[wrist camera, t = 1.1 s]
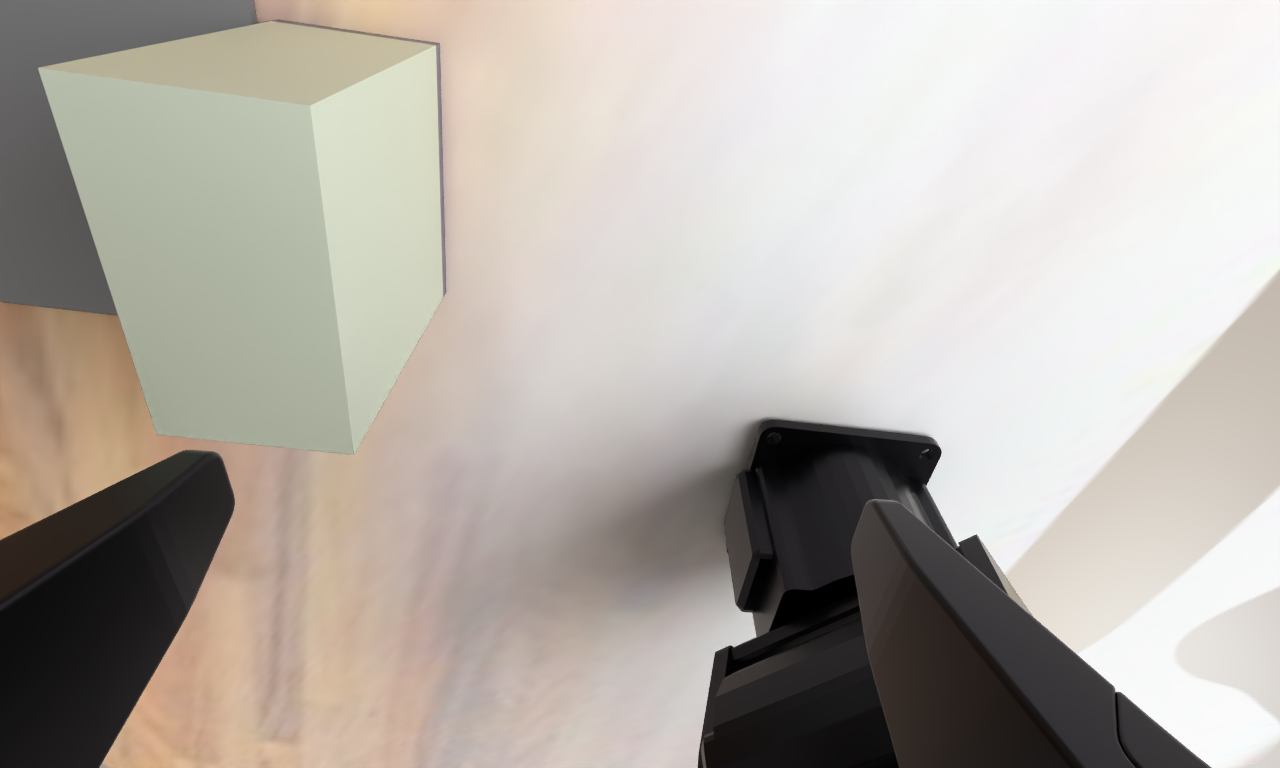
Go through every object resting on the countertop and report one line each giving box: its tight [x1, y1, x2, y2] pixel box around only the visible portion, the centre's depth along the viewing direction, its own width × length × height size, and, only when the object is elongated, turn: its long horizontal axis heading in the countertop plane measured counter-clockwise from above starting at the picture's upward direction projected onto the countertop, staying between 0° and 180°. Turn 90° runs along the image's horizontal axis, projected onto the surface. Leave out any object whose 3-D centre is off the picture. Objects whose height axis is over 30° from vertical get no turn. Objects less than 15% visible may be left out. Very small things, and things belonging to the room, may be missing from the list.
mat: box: [0, 0, 257, 315], centre depth 18 cm, size 9×11×1 cm
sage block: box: [38, 20, 446, 455], centre depth 15 cm, size 4×7×8 cm, turn 172°
